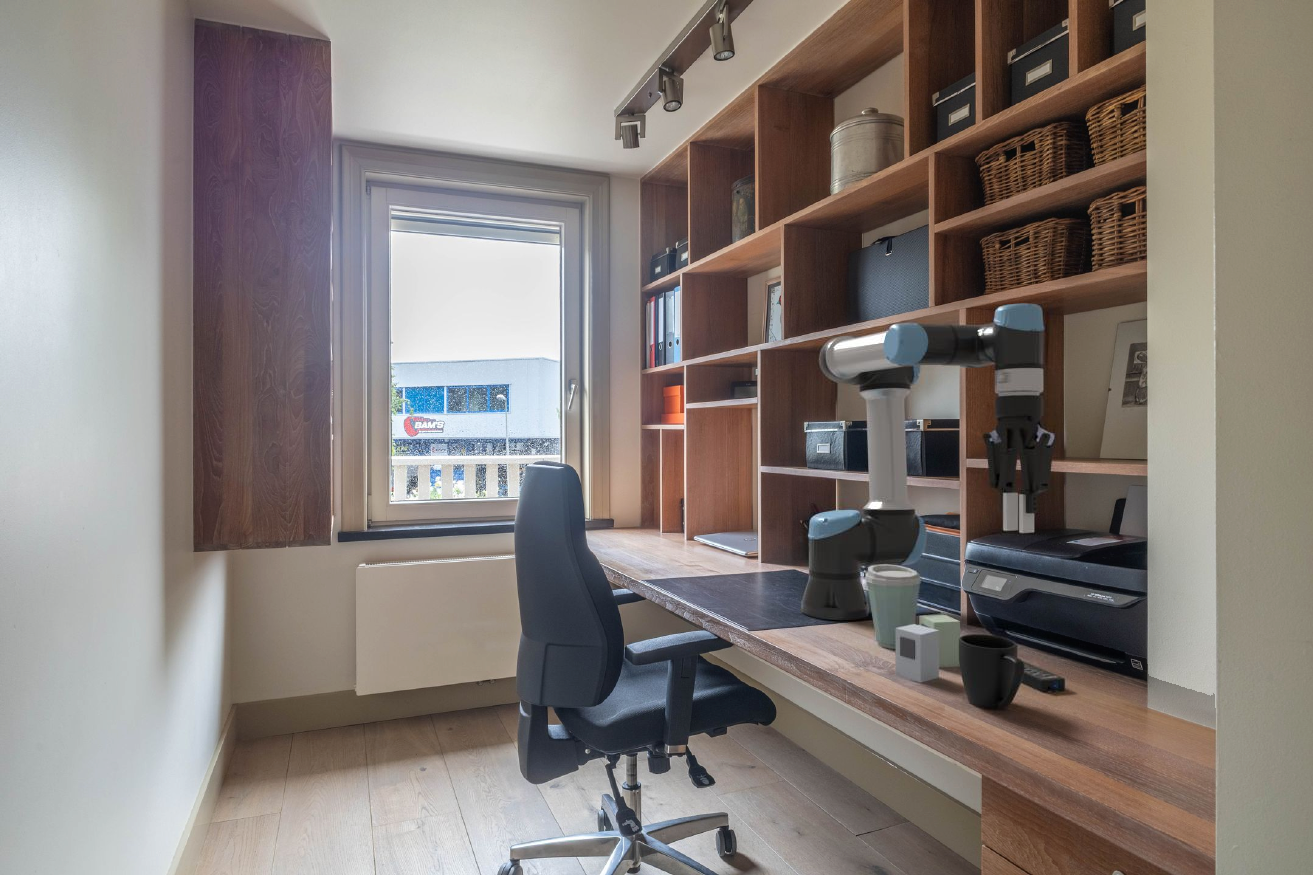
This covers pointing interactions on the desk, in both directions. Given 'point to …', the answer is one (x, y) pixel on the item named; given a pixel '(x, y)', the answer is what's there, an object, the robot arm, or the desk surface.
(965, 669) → the mug
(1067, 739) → the desk surface
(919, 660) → the block grey
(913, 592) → the disposable coffee cup
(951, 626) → the block sage
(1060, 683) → the multiport hub
